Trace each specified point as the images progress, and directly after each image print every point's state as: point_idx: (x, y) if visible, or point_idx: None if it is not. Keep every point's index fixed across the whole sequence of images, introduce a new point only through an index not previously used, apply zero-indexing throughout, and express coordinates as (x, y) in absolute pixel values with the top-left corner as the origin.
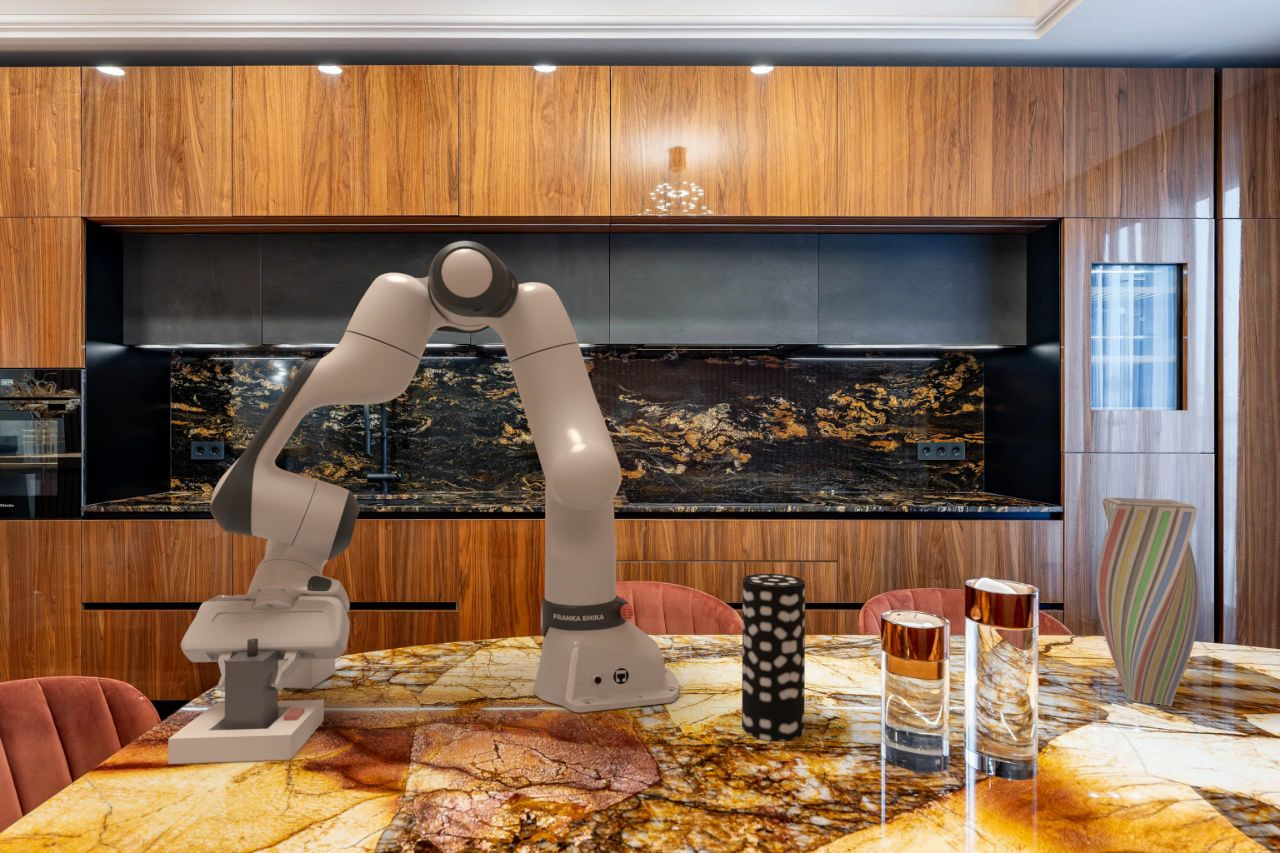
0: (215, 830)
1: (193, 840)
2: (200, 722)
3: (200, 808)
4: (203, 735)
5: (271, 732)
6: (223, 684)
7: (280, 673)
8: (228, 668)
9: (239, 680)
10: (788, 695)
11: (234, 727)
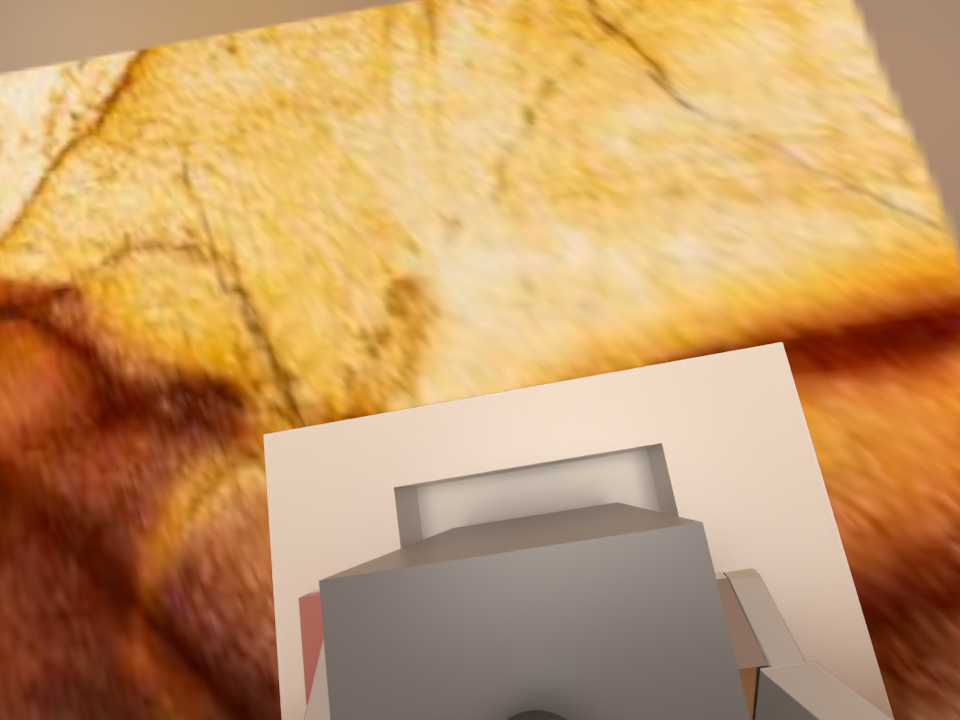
0: (312, 61)
1: (338, 21)
2: (779, 533)
3: (416, 137)
4: (642, 389)
5: (357, 450)
6: (719, 582)
7: (312, 708)
8: (654, 523)
9: (552, 530)
10: None
11: (574, 510)
